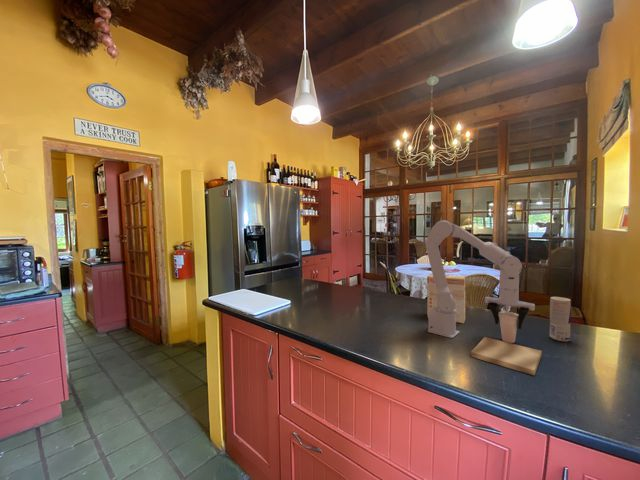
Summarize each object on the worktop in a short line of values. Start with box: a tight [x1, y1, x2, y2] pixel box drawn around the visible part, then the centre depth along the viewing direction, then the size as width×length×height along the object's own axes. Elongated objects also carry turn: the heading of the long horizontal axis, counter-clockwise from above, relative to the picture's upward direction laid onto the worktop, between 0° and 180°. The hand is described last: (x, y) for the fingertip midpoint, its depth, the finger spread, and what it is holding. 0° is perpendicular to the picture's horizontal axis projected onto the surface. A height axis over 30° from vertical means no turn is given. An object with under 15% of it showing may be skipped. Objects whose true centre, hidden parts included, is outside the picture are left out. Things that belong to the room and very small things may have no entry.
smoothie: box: [498, 305, 519, 344], centre depth 96 cm, size 6×6×14 cm
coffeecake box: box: [426, 273, 466, 324], centre depth 120 cm, size 15×7×20 cm, turn 58°
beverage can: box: [549, 296, 572, 342], centre depth 97 cm, size 6×6×15 cm
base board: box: [470, 336, 543, 376], centre depth 85 cm, size 16×16×2 cm
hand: (508, 325), depth 96 cm, fingers closed on smoothie, 6 cm apart
